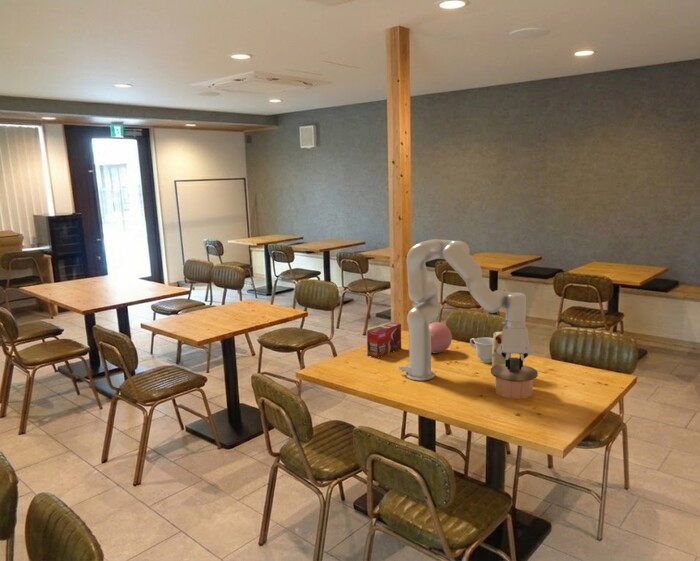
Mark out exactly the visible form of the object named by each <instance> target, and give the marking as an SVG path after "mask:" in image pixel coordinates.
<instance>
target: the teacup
mask: <svg viewBox="0 0 700 561" xmlns="http://www.w3.org/2000/svg"><path fill="white" fill-rule="evenodd" d="M473 342H474V343H473ZM469 344H470V346H471V347H472V348H474V350H475V353H476V356H477V358H479V361H480V362H481V361H482V363H484V362H485V363H487V364H489V363H492V347H493V337H487V336H486V337H483V336H482V337H481V336H480V337H477V338H474V337H473V338H470V339H469Z"/></svg>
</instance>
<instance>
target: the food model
mask: <svg viewBox="0 0 700 561" xmlns="http://www.w3.org/2000/svg"><path fill="white" fill-rule="evenodd" d="M502 333H503V330H502V331H494V332H493V337H492V338H493V347H492V362H491V364H492V366H491V368H492V367H493V366H495V365H499V364H505V360H506V359H505V358H504V357H503V356H502V355H501V354H499V353H498V352H497V349H498V347H499V346H500V345H501V342H502ZM501 351H502V350H501ZM509 357H512V353H510V354H509Z"/></svg>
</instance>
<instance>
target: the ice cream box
mask: <svg viewBox="0 0 700 561" xmlns="http://www.w3.org/2000/svg"><path fill="white" fill-rule="evenodd" d="M398 349H400V350H402V323H398V322H394V321H391V322H390V321H389V322H388V323H384V324H381V325H378V326H376V327H371V328H369V329H367V330H366V356H367V357H369V356H371V357H370V358H373V357H375V358H374V359H379V358H382V357H385V356H387V355H389V354H388V353H390V354H391V352H392V353H394V352H393V351H395V352H397V351H399V350H398ZM396 350H397V351H396ZM386 354H387V355H386ZM384 355H385V356H384ZM381 356H382V357H381ZM378 357H379V358H378Z"/></svg>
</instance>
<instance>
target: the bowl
mask: <svg viewBox="0 0 700 561" xmlns="http://www.w3.org/2000/svg"><path fill="white" fill-rule="evenodd" d="M533 382H534V379H533V380H529V381H509V380H503V379H500V378H497V377H495V383H494V384H495V388H494V390H495V394H496V395H499V396H501V397H503V398H507V399H514V400H516V399H517V400H522V399H527V398H530V397H531V396H532V395H533V389H534V384H533Z"/></svg>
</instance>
